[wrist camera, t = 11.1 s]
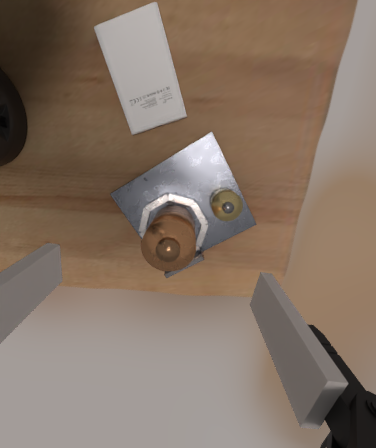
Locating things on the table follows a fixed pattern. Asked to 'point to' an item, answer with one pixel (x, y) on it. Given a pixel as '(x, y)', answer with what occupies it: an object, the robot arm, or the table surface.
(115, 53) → the external hard drive
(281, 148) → the table surface
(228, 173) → the plate
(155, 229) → the copper knobbed cylinder
